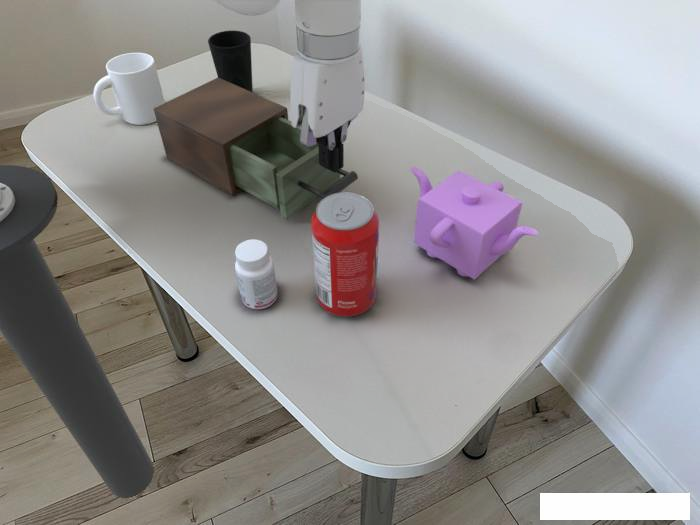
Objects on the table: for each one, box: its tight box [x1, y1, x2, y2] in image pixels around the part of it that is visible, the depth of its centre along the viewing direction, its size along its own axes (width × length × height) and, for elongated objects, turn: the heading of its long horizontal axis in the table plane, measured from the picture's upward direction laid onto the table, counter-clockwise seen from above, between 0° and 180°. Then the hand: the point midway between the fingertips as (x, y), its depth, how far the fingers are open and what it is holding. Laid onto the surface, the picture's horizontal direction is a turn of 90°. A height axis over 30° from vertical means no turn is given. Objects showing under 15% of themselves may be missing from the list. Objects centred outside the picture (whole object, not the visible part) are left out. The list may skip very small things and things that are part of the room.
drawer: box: [228, 117, 359, 220], centre depth 88 cm, size 21×12×8 cm, turn 51°
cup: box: [207, 30, 254, 93], centre depth 109 cm, size 8×8×12 cm
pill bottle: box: [234, 239, 279, 310], centre depth 73 cm, size 5×5×8 cm
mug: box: [93, 52, 166, 126], centre depth 105 cm, size 12×8×10 cm
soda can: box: [310, 191, 380, 317], centre depth 70 cm, size 8×8×15 cm
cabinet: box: [154, 77, 289, 197], centre depth 95 cm, size 17×14×10 cm
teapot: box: [410, 166, 539, 280], centre depth 78 cm, size 15×13×11 cm
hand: (331, 166), depth 81 cm, fingers closed
